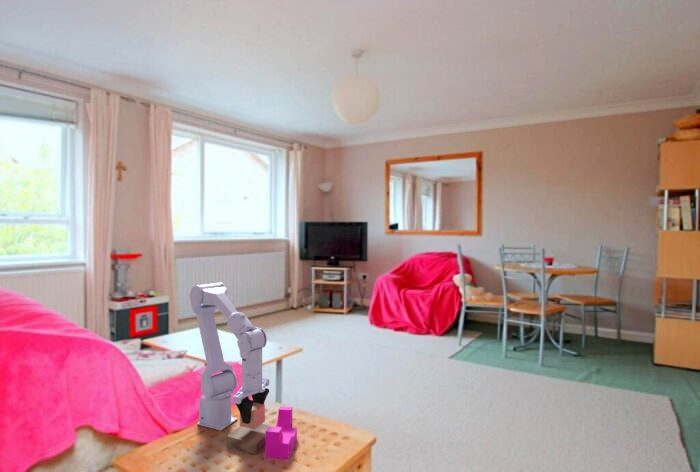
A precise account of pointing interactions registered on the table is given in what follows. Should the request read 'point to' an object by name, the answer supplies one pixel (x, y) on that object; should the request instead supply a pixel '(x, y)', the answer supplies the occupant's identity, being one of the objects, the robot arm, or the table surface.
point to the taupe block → (248, 439)
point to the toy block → (281, 436)
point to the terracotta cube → (255, 416)
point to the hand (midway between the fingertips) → (252, 418)
